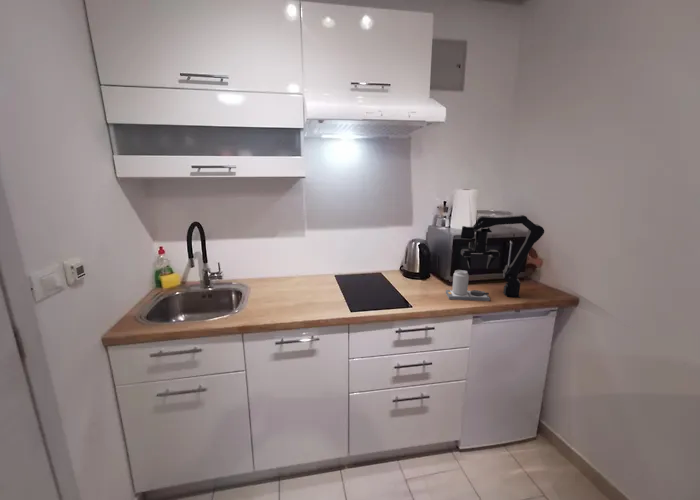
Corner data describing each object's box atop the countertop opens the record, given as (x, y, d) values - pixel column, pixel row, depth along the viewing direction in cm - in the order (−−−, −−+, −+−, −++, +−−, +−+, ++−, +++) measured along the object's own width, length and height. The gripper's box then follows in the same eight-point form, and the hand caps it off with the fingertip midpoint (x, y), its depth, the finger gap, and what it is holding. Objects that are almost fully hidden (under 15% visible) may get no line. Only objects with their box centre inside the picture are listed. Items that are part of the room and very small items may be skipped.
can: (453, 295, 167) (455, 273, 165) (450, 290, 175) (452, 268, 172) (468, 296, 166) (470, 273, 164) (465, 291, 174) (467, 269, 171)
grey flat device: (485, 294, 174) (485, 289, 174) (491, 301, 164) (491, 296, 164) (445, 292, 176) (445, 287, 176) (449, 299, 167) (449, 294, 166)
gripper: (494, 237, 178) (491, 265, 182) (459, 236, 180) (457, 264, 184) (501, 241, 168) (498, 270, 171) (464, 240, 169) (461, 269, 173)
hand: (478, 268), depth 175 cm, fingers open, 9 cm apart
